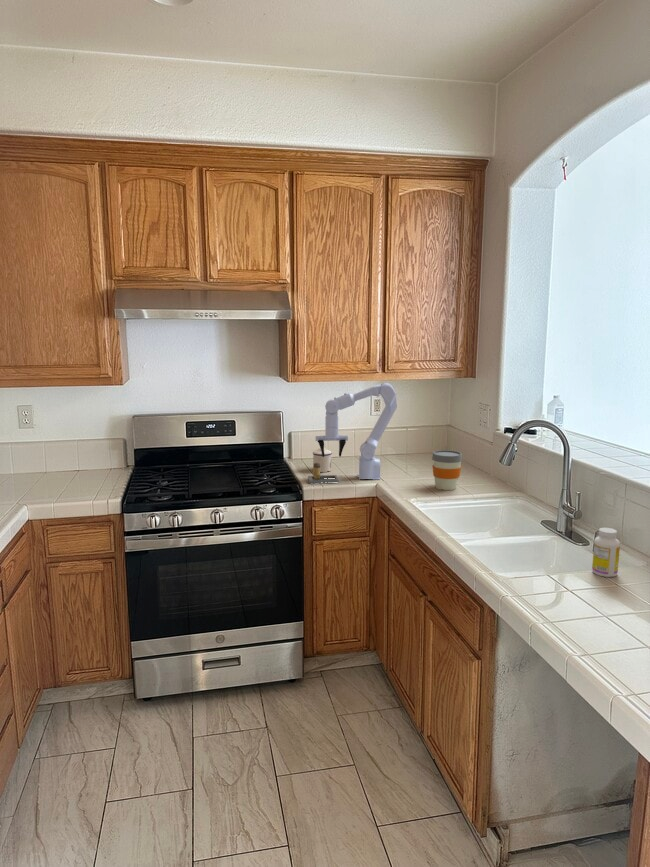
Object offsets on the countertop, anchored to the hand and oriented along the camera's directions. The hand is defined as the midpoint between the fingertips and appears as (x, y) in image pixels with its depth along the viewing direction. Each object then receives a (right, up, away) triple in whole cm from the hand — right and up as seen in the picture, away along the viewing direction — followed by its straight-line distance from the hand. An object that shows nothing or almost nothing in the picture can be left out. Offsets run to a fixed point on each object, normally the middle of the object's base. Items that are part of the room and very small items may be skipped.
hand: (331, 456), depth 277 cm
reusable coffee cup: (+49, -13, -13) cm, 52 cm away
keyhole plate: (-4, -11, -5) cm, 12 cm away
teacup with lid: (-5, -7, +16) cm, 18 cm away
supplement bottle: (+77, -30, -102) cm, 131 cm away
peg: (-7, -11, -5) cm, 14 cm away
